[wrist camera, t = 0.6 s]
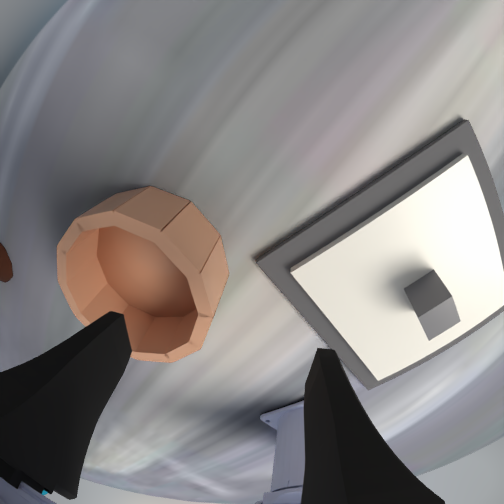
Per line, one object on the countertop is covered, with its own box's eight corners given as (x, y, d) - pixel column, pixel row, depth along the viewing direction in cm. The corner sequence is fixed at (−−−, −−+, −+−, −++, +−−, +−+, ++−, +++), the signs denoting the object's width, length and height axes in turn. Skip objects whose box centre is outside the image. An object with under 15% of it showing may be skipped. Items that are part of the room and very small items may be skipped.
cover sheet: (505, 297, 17) (525, 324, 14) (376, 375, 22) (383, 409, 19) (462, 153, 13) (496, 166, 10) (290, 268, 18) (289, 303, 15)
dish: (259, 278, 19) (249, 323, 15) (161, 337, 23) (141, 376, 19) (150, 154, 16) (110, 171, 12) (73, 246, 20) (38, 275, 16)
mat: (516, 295, 17) (518, 298, 17) (367, 386, 23) (368, 390, 23) (464, 119, 13) (468, 120, 12) (257, 259, 19) (256, 262, 18)
